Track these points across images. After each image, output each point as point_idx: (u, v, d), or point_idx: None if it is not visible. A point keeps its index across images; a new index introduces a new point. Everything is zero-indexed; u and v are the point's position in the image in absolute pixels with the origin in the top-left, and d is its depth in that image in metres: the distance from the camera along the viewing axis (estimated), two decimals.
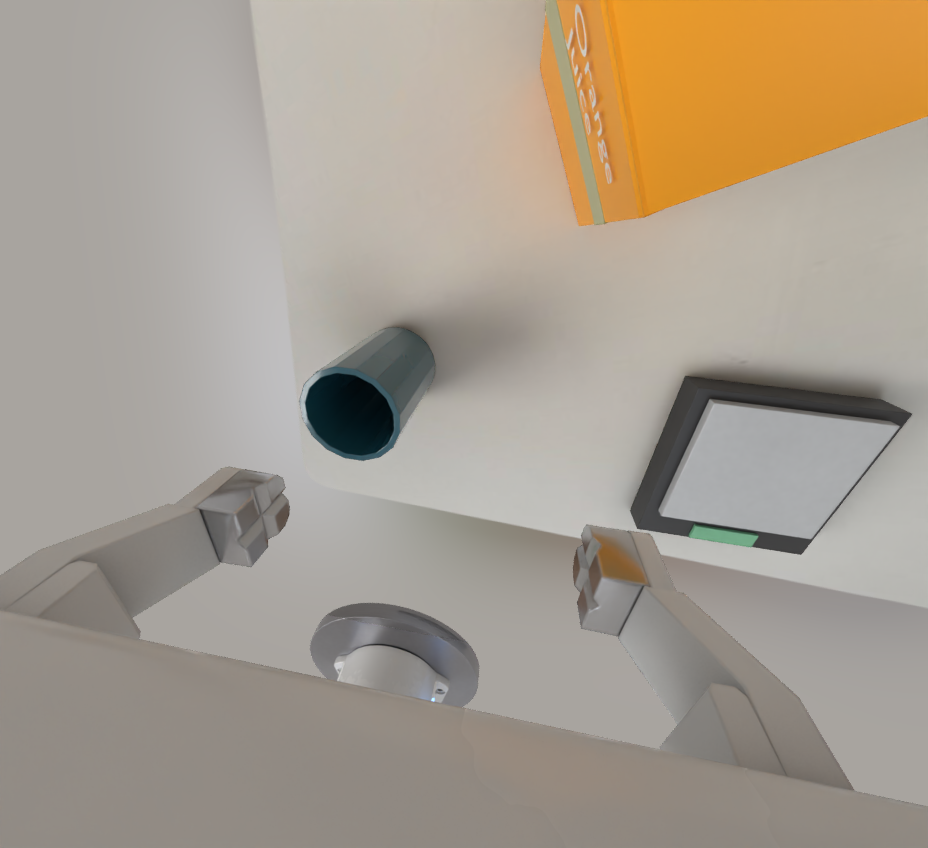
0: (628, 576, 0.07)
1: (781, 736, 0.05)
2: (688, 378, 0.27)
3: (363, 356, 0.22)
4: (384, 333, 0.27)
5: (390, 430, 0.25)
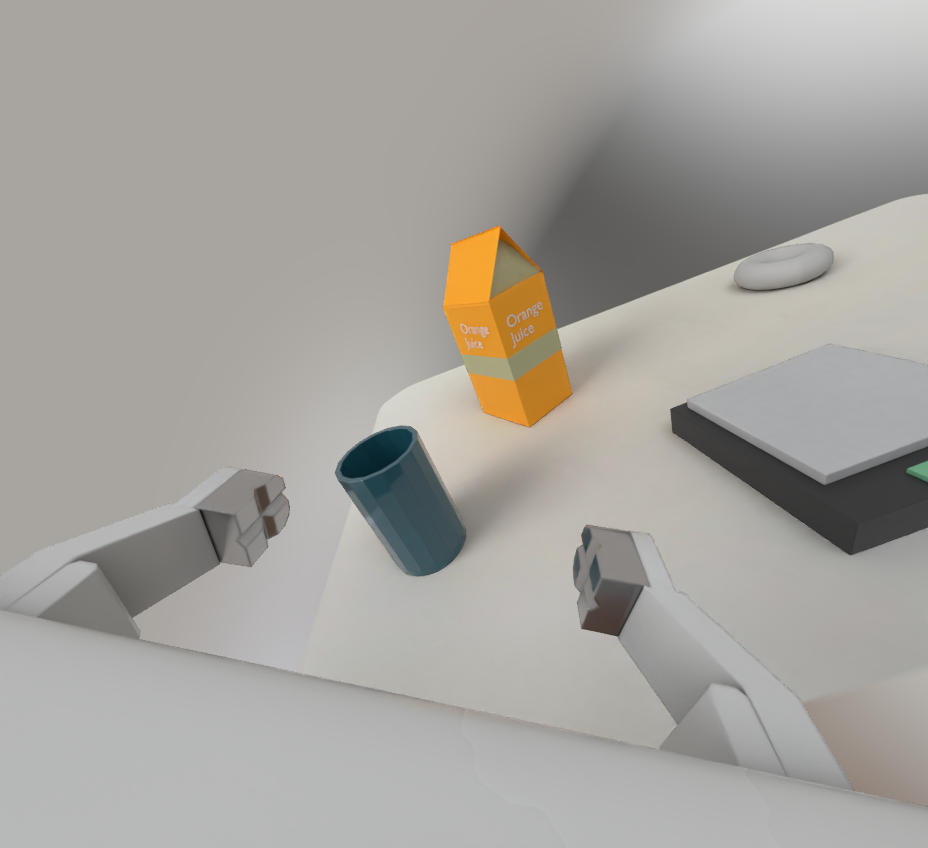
0: (628, 576, 0.07)
1: (781, 736, 0.05)
2: (672, 427, 0.30)
3: None
4: None
5: None
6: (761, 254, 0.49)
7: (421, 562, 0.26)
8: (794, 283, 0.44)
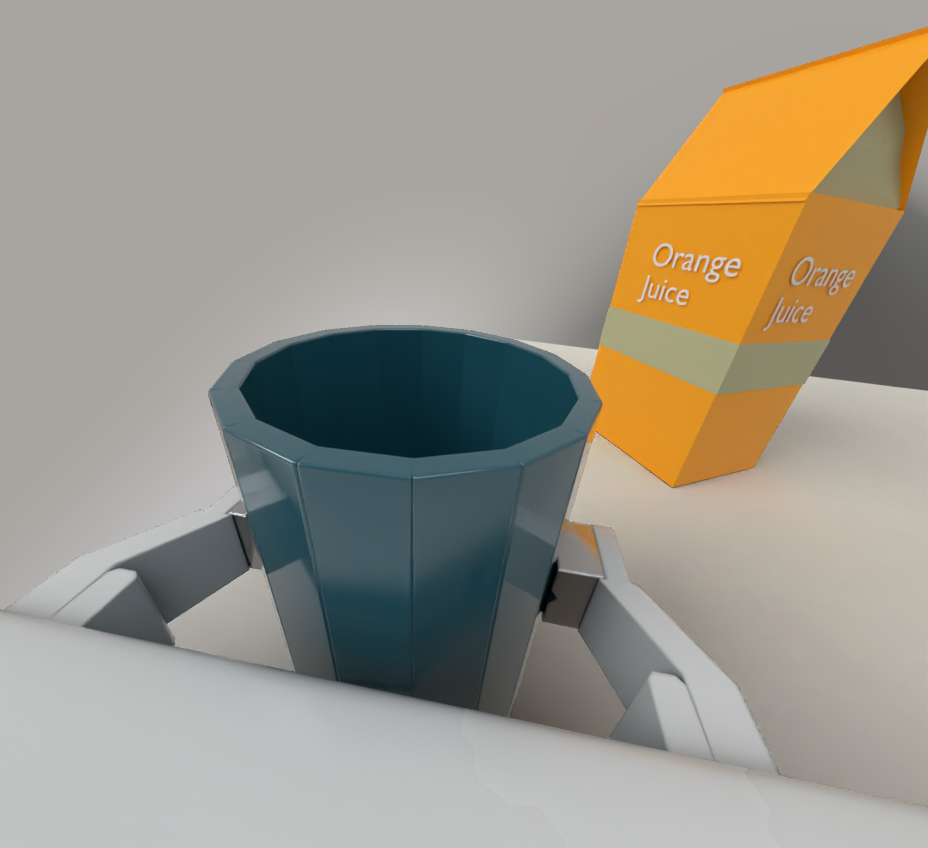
0: (584, 568, 0.07)
1: (715, 723, 0.05)
2: None
3: None
4: None
5: None
6: None
7: None
8: None
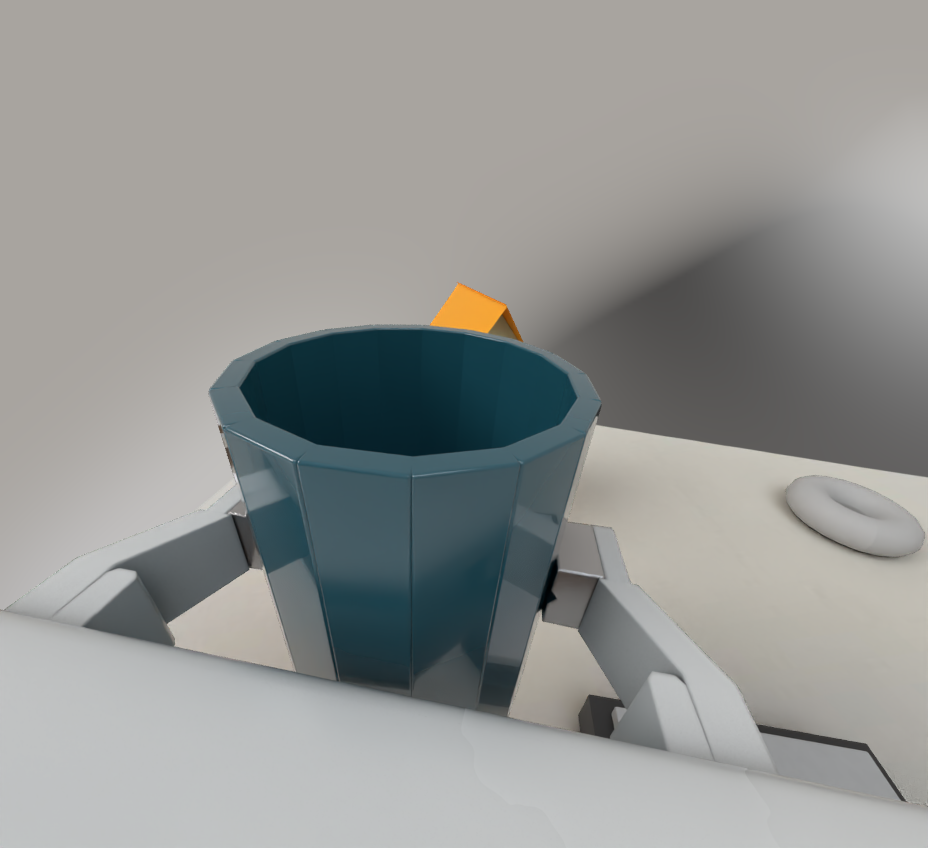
0: (584, 569, 0.07)
1: (716, 723, 0.05)
2: (581, 711, 0.20)
3: None
4: None
5: None
6: (834, 481, 0.37)
7: None
8: (854, 548, 0.33)
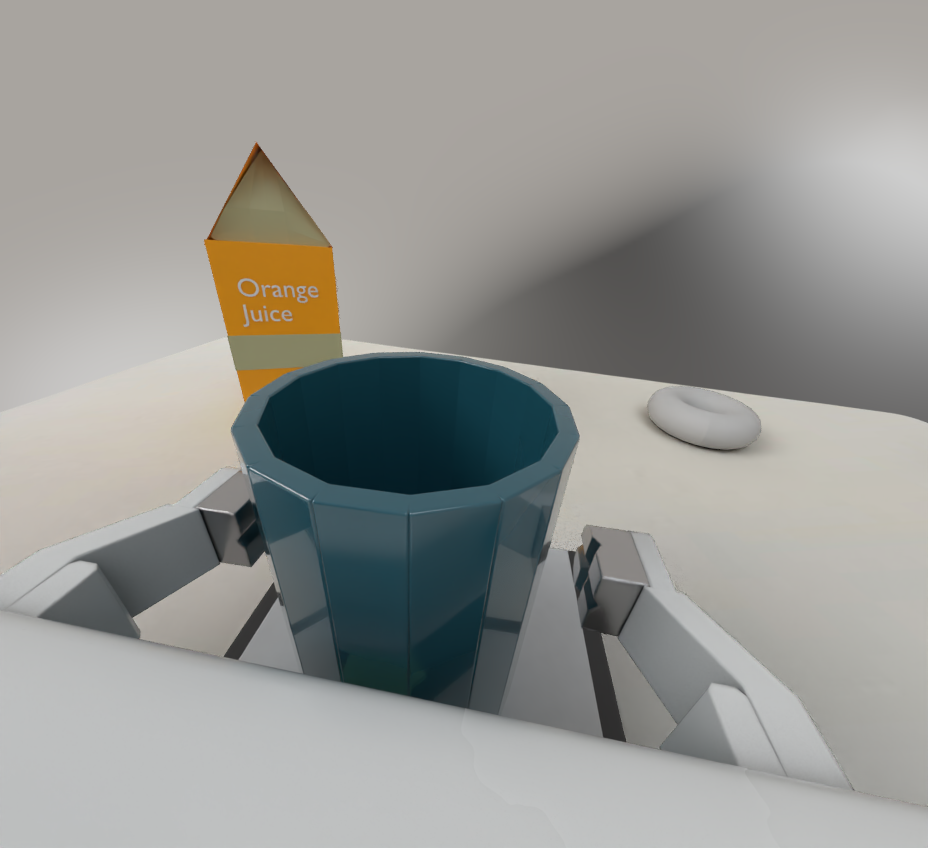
0: (628, 576, 0.07)
1: (781, 736, 0.05)
2: None
3: None
4: None
5: None
6: (693, 389, 0.37)
7: None
8: (694, 442, 0.33)
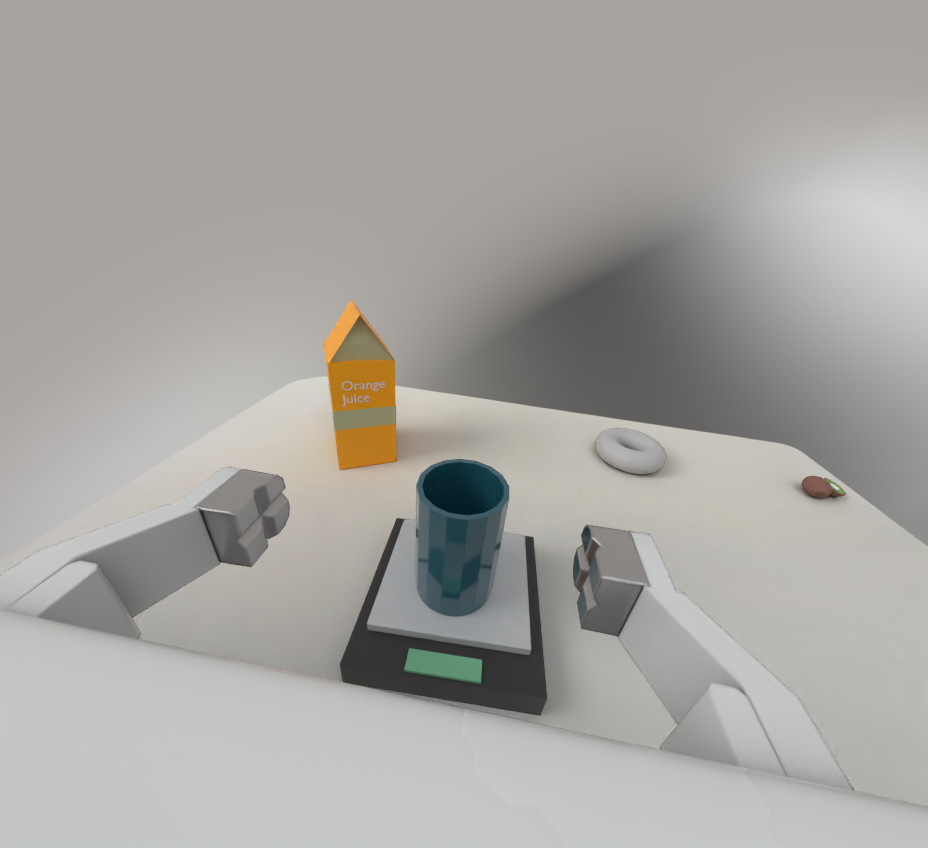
0: (628, 576, 0.07)
1: (781, 736, 0.05)
2: None
3: None
4: None
5: None
6: (626, 431, 0.55)
7: (445, 603, 0.26)
8: (621, 469, 0.50)
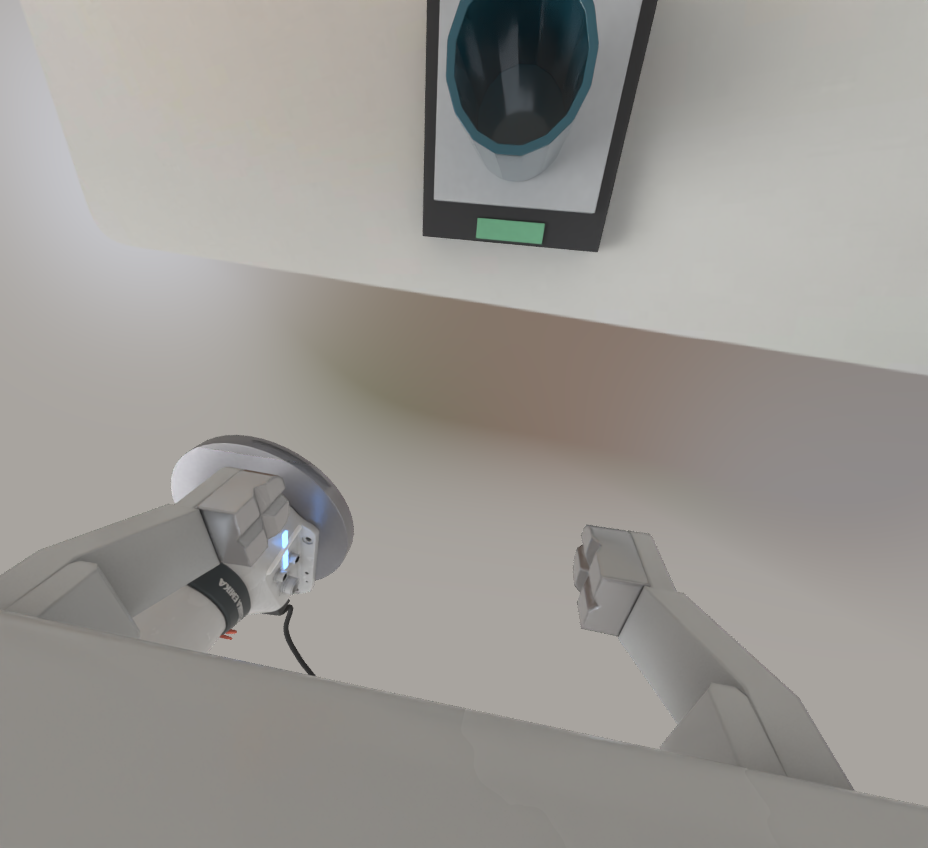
0: (628, 576, 0.07)
1: (781, 736, 0.05)
2: None
3: None
4: None
5: None
6: None
7: (508, 178, 0.24)
8: None
